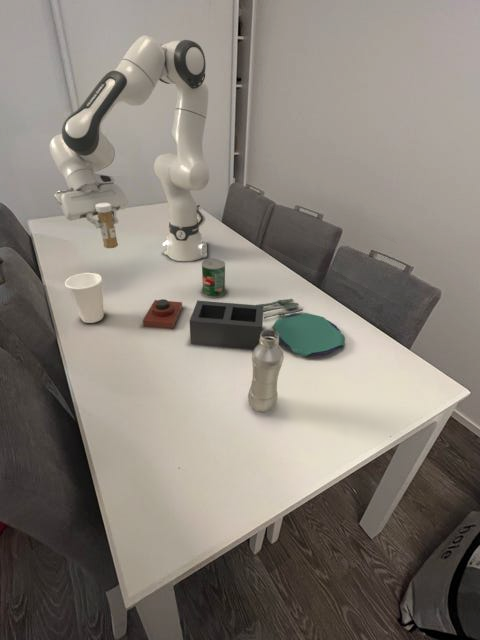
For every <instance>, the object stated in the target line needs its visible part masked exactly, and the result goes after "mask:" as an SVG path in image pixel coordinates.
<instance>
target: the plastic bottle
mask: <svg viewBox="0 0 480 640" xmlns="http://www.w3.org/2000/svg"><path fill="white" fill-rule="evenodd" d="M259 342H260V343H259V344H258V345H257V346H256V347H255V348H254V350H252V353H251V362H252V363H251V364H252V379H251V384H250V387H249V390H248V393H247V400H248V404H249V406H250V407H251V408H252V409H253V410H255V411H257V412H259V413H260V412H261V413H265V412H269V411H270V410H272V409H274V408H275V406H276V404H277V402H278V398H279V397H278V381H279V375H280V371H281V368H282V365H283V362H284V358H285V355H284V351H283V349H282V348H281V347H280V341H279V334H278V333H277V332H276V331H275V329H265V330H264V329H263V330H262V332H261V334H260V340H259Z"/></svg>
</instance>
